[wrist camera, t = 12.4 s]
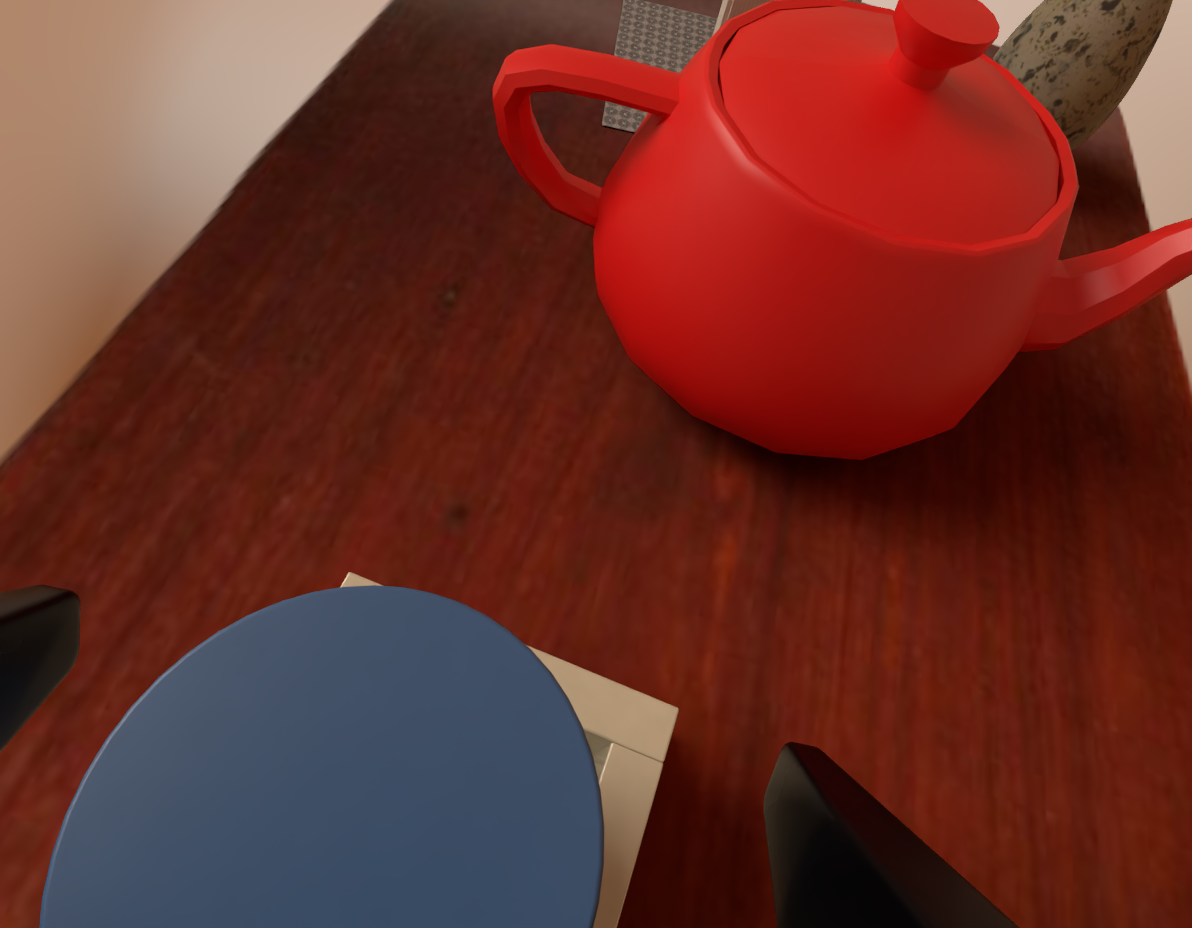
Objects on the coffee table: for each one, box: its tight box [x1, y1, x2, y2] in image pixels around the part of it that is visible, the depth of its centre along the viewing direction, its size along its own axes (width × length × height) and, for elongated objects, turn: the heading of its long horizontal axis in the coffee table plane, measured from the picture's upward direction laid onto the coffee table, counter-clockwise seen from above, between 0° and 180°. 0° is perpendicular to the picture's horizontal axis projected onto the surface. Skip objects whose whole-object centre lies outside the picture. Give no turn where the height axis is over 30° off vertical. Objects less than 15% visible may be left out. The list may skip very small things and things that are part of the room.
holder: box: [340, 572, 679, 928], centre depth 15 cm, size 9×9×5 cm
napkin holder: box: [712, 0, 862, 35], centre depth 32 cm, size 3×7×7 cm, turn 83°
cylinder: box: [39, 585, 604, 928], centre depth 11 cm, size 4×4×14 cm
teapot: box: [493, 0, 1192, 460], centre depth 22 cm, size 25×16×12 cm, turn 78°
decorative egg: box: [992, 0, 1172, 151], centre depth 32 cm, size 6×6×10 cm
